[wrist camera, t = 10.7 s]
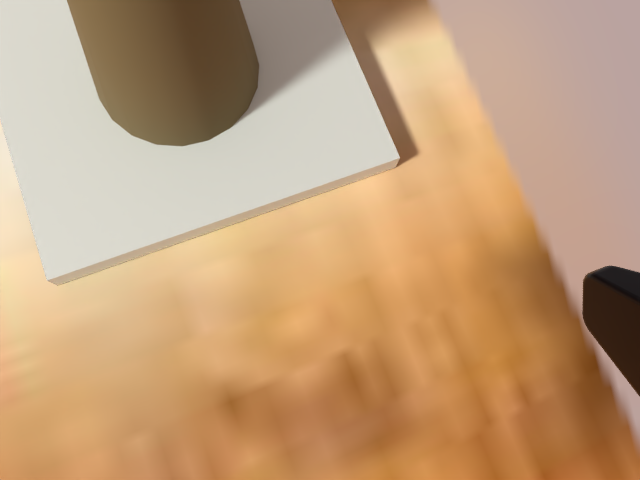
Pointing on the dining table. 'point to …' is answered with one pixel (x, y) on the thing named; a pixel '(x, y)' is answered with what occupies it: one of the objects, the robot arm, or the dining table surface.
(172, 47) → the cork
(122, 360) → the dining table surface
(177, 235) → the white board
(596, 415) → the dining table surface
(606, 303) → the robot arm
